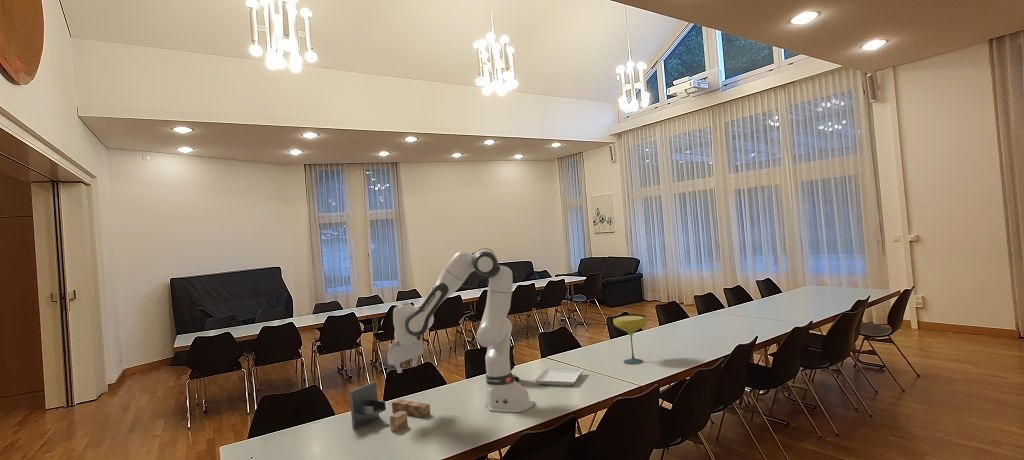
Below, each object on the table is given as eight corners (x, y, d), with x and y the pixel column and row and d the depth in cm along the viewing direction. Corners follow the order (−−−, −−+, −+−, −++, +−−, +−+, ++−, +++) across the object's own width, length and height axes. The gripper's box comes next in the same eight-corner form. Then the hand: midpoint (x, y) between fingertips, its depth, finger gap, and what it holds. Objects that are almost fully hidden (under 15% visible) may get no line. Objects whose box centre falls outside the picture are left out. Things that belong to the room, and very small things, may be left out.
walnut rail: (430, 415, 215) (429, 404, 215) (424, 418, 212) (423, 407, 212) (398, 409, 226) (398, 399, 226) (392, 412, 223) (391, 402, 223)
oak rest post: (407, 426, 204) (406, 411, 204) (397, 431, 199) (396, 417, 199) (400, 424, 206) (399, 410, 206) (390, 430, 201) (389, 416, 201)
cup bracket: (392, 418, 214) (389, 383, 214) (368, 431, 202) (365, 393, 202) (376, 416, 219) (373, 381, 219) (352, 428, 207) (349, 391, 207)
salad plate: (534, 386, 242) (533, 379, 242) (547, 373, 262) (546, 367, 262) (575, 388, 234) (574, 381, 234) (585, 375, 254) (584, 368, 254)
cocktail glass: (654, 364, 260) (649, 318, 260) (620, 367, 260) (616, 321, 261) (645, 356, 278) (641, 313, 278) (614, 358, 278) (610, 315, 279)
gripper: (393, 345, 209) (396, 376, 209) (424, 334, 226) (426, 363, 226) (382, 344, 212) (385, 375, 212) (414, 334, 229) (416, 363, 229)
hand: (407, 369), depth 219 cm, fingers open, 8 cm apart
